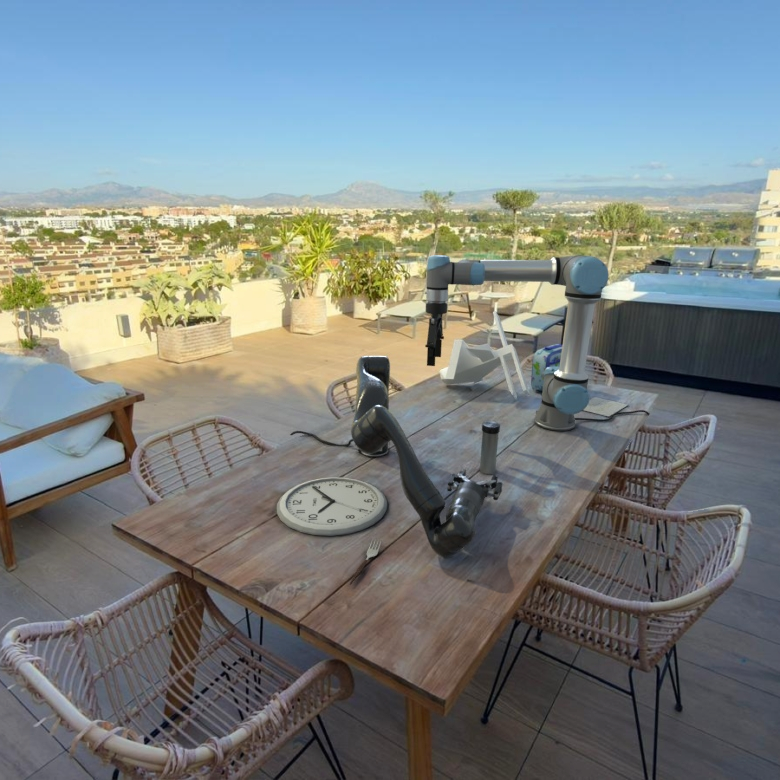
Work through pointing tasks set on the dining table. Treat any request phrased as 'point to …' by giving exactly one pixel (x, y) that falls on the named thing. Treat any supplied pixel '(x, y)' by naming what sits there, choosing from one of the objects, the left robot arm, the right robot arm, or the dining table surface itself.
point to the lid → (490, 427)
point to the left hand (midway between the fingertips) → (479, 474)
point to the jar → (488, 453)
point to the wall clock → (331, 506)
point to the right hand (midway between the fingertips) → (434, 361)
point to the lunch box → (544, 364)
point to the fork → (370, 554)
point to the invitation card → (604, 406)
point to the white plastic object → (482, 362)
